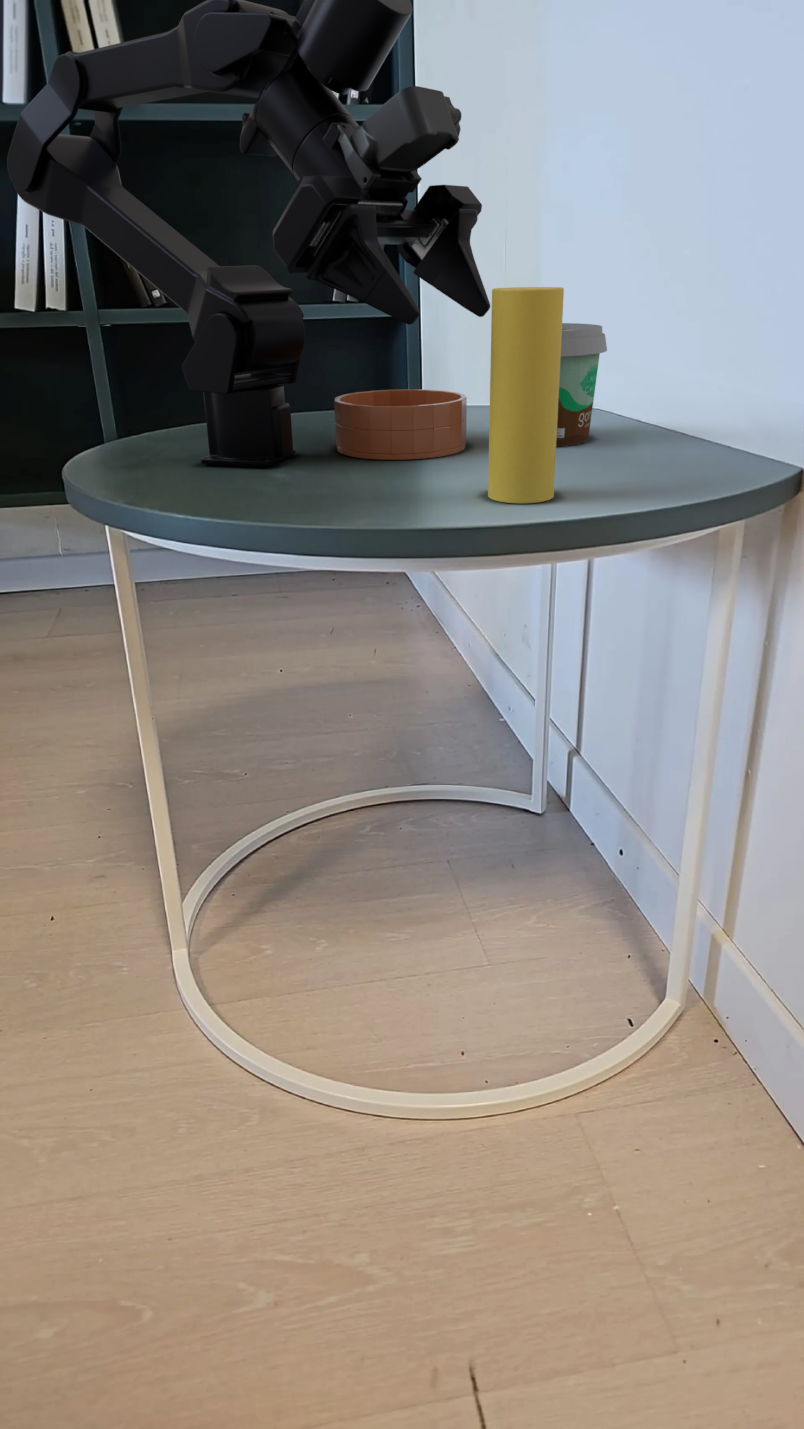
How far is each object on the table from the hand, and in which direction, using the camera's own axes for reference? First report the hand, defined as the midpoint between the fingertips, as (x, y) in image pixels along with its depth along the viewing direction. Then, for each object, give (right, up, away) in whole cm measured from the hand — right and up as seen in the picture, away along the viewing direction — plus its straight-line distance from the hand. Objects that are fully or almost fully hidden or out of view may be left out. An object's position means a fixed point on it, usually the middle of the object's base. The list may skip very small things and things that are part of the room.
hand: (452, 315), depth 69 cm
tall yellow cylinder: (+5, -12, +2) cm, 14 cm away
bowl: (-4, -4, +21) cm, 22 cm away
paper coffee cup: (+12, -2, +24) cm, 27 cm away
